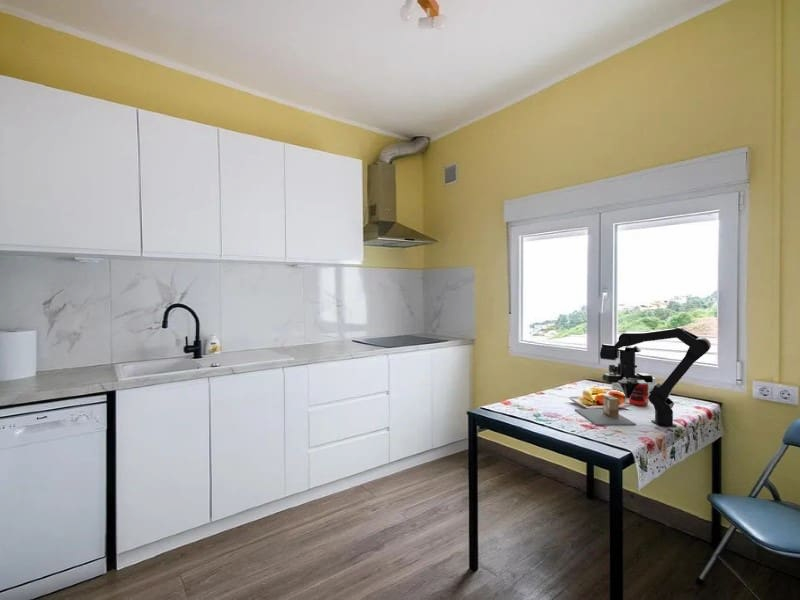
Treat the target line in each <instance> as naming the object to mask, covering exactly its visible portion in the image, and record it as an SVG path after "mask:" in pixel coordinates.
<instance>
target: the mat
mask: <svg viewBox="0 0 800 600" xmlns="http://www.w3.org/2000/svg"><path fill="white" fill-rule="evenodd" d="M574 411H575V412H576V413H578V414H580V415H581V416H582V417H583V418H585V419H587V420H588V421H589V422H590V423H592V424H593V425H595V426H636V425H637V424H636V423H635V422H633V420H630V419H629V418H627V417H625V416H623V415H622V414H620V413H619V418H609V417H608V416H606V415H604V414H603V408H574Z"/></svg>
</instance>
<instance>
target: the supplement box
mask: <svg viewBox="0 0 800 600" xmlns="http://www.w3.org/2000/svg"><path fill="white" fill-rule="evenodd" d="M652 377H653V376H652ZM656 384H657V378H656V377H653V382H648V398H649V395H650V393H649V392H650V391H651V390H652V389H653V388H654V386H655V385H656ZM612 390H617V391H620V392H623V393H624V391H623V389H622V387H621V385H620V384H619V383H618V382H617V383H611V391H612Z"/></svg>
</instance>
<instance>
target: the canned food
mask: <svg viewBox="0 0 800 600" xmlns="http://www.w3.org/2000/svg"><path fill="white" fill-rule="evenodd" d="M637 382H638V383H639V384H638V385H637V386H636V387H635V389H634V390H633V392H632V394H631V395H630V397H629V398H628V400H629V401H628V402H629V404H630V405H633V406H635V407H647V406H648V404H649V403H648V402H649V397H648V382H645V381H644V380H638V381H637Z"/></svg>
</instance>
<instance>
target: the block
mask: <svg viewBox="0 0 800 600" xmlns="http://www.w3.org/2000/svg"><path fill="white" fill-rule="evenodd" d="M619 403H620V399H619V398H617V397H615V396H613V395H612V394H610V395H607V394H606V395H603V397H602V409H603V414H604V415H606V416H608V417H609V418H619V414H620V413H619V412H620V410H619V408H620V407H619V405H620V404H619Z"/></svg>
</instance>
